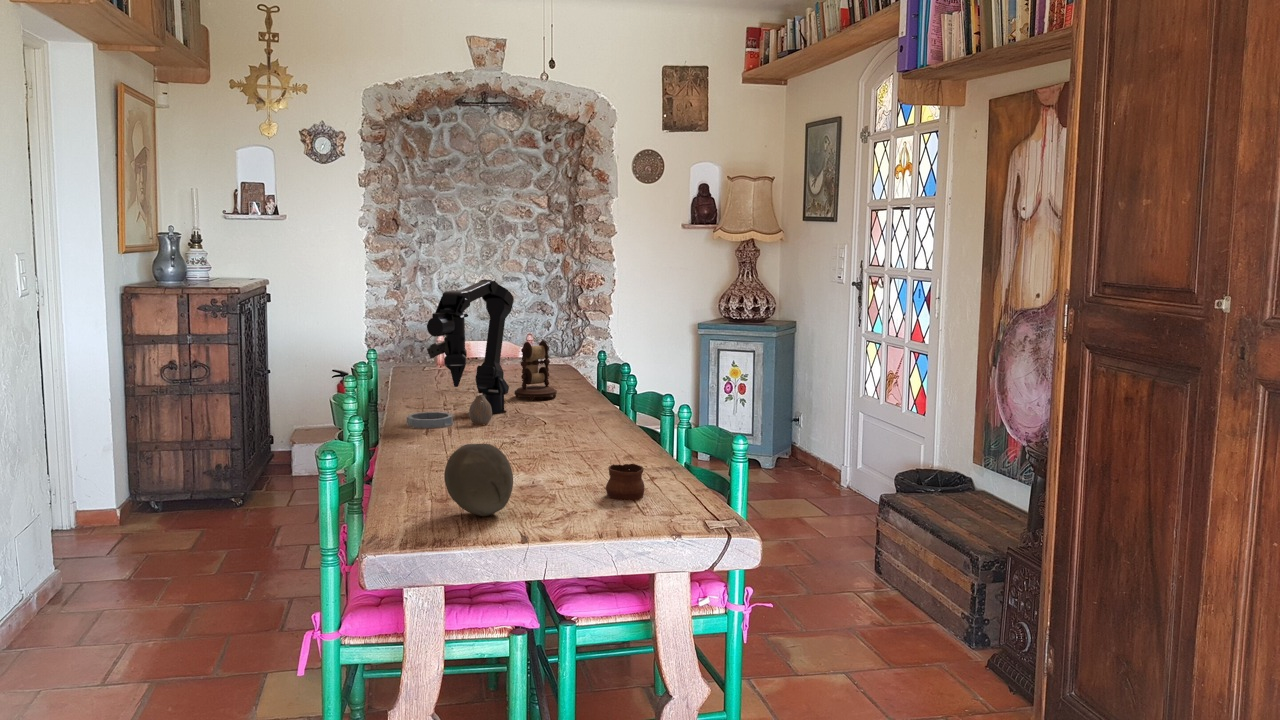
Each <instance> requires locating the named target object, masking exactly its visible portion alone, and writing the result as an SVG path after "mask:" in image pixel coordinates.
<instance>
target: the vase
mask: <svg viewBox="0 0 1280 720" xmlns="http://www.w3.org/2000/svg"><path fill="white" fill-rule="evenodd" d="M468 416H469V419H470V422H471V423H472V424H473V425H475V426H485V425H488V424H489V423H490V421H492V417H493V414H492V408H491V405H490V403H489V402H488V401H487V400H486V398H485V396H484V395H482V394H477V395H476V396H475V398H474V400H473V401H472V402H471V404H470V406H469V409H468Z"/></svg>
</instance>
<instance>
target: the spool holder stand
mask: <svg viewBox="0 0 1280 720" xmlns="http://www.w3.org/2000/svg"><path fill="white" fill-rule="evenodd" d="M520 350H521V361H520V367H521V368H522V370H521V376H520V377H521V379H522V380H521V382H522V384H521V386H520V387H517V388H516V389H515V390H514V395H515V398H518V397H521V398H522V397H524V398H529V399H530V401H531V402H533V401H534V398H545V397H546V398H547V397H552V398H553V399H556V397H557V394H558V393H557V389H555V388H554V387H551V386H549V385H550V381H549V377H550V372H549V371H550V369H549V365H550V364H551V360H550V359H549V358H550V356H549V351H550V346H549V345H548V342H546V341H545V340H541V341H540V342H539V345H532V344H531V343H530V342H529V341H526V342H524V343H523V344H522V348H521V349H520ZM539 365H544V366H540V368H539ZM543 383H544V385H540V384H543ZM537 384H539V385H537Z"/></svg>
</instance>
